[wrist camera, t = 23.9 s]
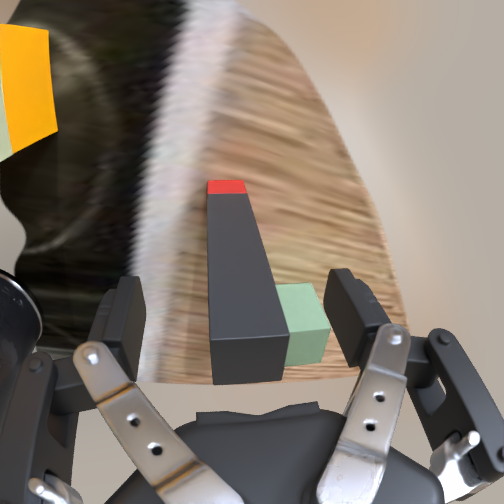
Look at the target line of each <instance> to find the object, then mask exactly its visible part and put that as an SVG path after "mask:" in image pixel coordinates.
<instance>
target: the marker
mask: <svg viewBox="0 0 504 504" xmlns="http://www.w3.org/2000/svg"><path fill="white" fill-rule="evenodd" d="M207 265H208V310H209V339H210V353H211V366H212V378H213V385H229V384H246V383H259V382H271V381H281V380H282V376H283V371H284V366H285V361H286V356H287V351H288V345H289V340H290V332H289V329H288V325H287V322H286V319H285V315H284V312H283V309H282V305H281V302H280V299H279V295H278V292H277V289H276V285H275V282H274V279H273V275H272V272H271V269H270V266H269V262H268V259H267V256H266V252H265V249H264V246H263V243H262V239H261V236H260V233H259V230H258V226H257V223H256V220H255V217H254V214H253V210H252V207H251V204H250V201H249V197H248V194H247V192H246V189H245V185H244V182H243V180H214V181H208V182H207Z"/></svg>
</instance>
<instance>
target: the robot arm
mask: <svg viewBox="0 0 504 504" xmlns="http://www.w3.org/2000/svg"><path fill="white" fill-rule="evenodd" d="M323 304H324V310H325V313H326V315H327V317H328V319H329V322H330V324H331V326H332V328H333V331H334V333H335V335H336V338H337V340H338V342H339V344H340V347H341V349H342V351H343V354H344V356H345V358H346V361H347V363H348V366H349V368H350V367H356V366H359V367H360V369H361V371H360V373H359V375H358V378H357V381H356V383H355V386H354V388H353V391H352V393H351V396H350V398H349V401H348V403H347V406H346V408H345V410H344V412H343V414H342V415H341V414H339V413H336V412H333V411H329V410H323V409H320V408H319V405H318V402H317V401H316V402H310V403H302V404H296V405H288V406H286V407H283V408H280V409H277V410H275V411H272V412H269V413H266V414H263V415H250V414H242V413H236V412H229V411H220V412H196V421H192V422H189V423H187V424H184V425H182V426H180V427H178V428H176V429H175V430H173V429H172V428H171V427H170V426H169V425H168V423H167V422H166V421H165V420H164V419H163V417H162V416H161V415H160V414H159V412H158V411H157V410H156V409H155V407H154V406H153V405H152V404H151V402H150V401H149V400H148V399H147V397H146V396H145V395H144V393H143V392H142V391H141V390H140V388H139V387H138V386H137V384H136V383H135V382H136V380H137V372H138V365H139V359H140V352H141V346H142V340H143V334H144V328H145V322H146V306H145V301H144V296H143V291H142V286H141V281H140V278H139V276H127V277H121V278H120V280H119V283H118V286H117V289H109V290H108V291H107V292H106V293H105V294H104V296H103V297H102V299H101V301H100V304H99V308H98V310H97V313H96V316H95V318H94V321H93V324H92V327H91V330H90V333H89V337H88V340H87V342H85V343H83V344H81V345H80V346H78V347H77V348H76V350H75V351H74V353H73V356H71V357H67V358H62V359H58V360H52V358H51V357H50V355H48V354H47V353H45V352H35V353H32V352H33V350H34V347H35V345H36V343H37V341H38V340H39V338H40V336H41V334H42V332H43V329H44V316H43V312H42V310H41V307H40V305H39V303H38V302H37V300H36V298H35V297H34V296H33V294H32V293H31V292H30V290H29V289H28V288H27V287H26V286H25V285H24V284H23V283H22V282H21V281H19V280H18V279H17V278H16V277H14V276H13V275H11V274H9V273H8V272H6V271H4V270H1V269H0V504H83V500H82V498H81V496H80V494H79V493H78V492H77V491H76V490H75V489H73V488H72V487H71V477H72V465H73V454H74V446H75V438H76V430H77V423H78V416H79V412H81V411H86V410H91V409H95V408H98V410H99V411H100V413H101V415H102V416H103V418H104V420H105V421H106V423H107V424H108V426H109V428H110V429H111V431H112V432H113V434H114V435H115V437H116V438H117V440H118V441H119V443H120V444H121V446H122V447H123V449H124V450H125V452H126V453H127V454H128V456H129V457H130V459H131V460H132V462H133V463H134V464H135V466H136V467H137V469H136V471H135V472H134V473H133V474H132V475H131V476H130V477H129V478H128V479H127V480H126V481H125V482H124V483H123V485H121V487H120V488H119V489H118V490H117V491H116V492H115V493H114V494H113V495H112V496H111V497H110V498H109V499H108V500H107V501H106V502H105V503H104V504H448V503H450V502H452V501H454V500H457V501H463V500H465V499H467V498H469V497H471V496H473V495H474V494H476V493H478V492H479V491H481V490H483V489H484V488H486V487H487V486H489V485H491V484H492V483H494V482H495V481H497V480H498V479H500V478H501V477H503V476H504V419H503V417H502V416H501V414H500V412H499V410H498V408H497V406H496V404H495V402H494V400H493V399H492V397H491V395H490V393H489V392H488V390H487V388H486V386H485V385H484V383H483V381H482V379H481V378H480V376H479V374H478V372H477V371H476V369H475V368H474V366H473V364H472V363H471V361H470V360H469V358H468V356H467V354H466V353H465V351H464V350H463V348H462V347H461V345H460V344H459V342H458V340H457V339H456V337H455V336H454V335H453V334H452V333H450V332H449V331H447V330H445V329H441V328H437V329H433V330H432V331H431V332H430V333H429V335H428V337H427V338H424V337H415V336H410V334H409V332H408V331H407V330H406V329H405V328H404V327H402V326H400V325H398V324H394V323H392V322H391V321H390V319H389V318H388V316H387V314H386V313H385V311H384V310H383V308H382V307H381V305H380V303H379V302H377V299H376V297H375V296H374V295H373V292H372V291H371V289H370V288H369V286H368V285H366V284H365V283H364V282H363V281H361V280H360V279H355V278H354V276H353V275H352V273H351V271H350V270H349V269H348V268H343V269H331V270H330V272H329V275H328V280H327V285H326V289H325V294H324V299H323ZM439 377H440V379H441V381H442V383H443V385H444V387H445V390H446V395H445V393H444V391H443V389H442V388H441V386H440V383H439V381H438V380H437V379H438V378H439ZM132 382H133V383H132ZM405 388H407V391H408V393H409V395H410V398H411V400H412V402H413V404H414V407H415V409H416V411H417V414H418V416H419V419H420V421H421V423H422V425H423V428H424V431H425V433H426V435H427V437H428V440H429V443H430V446H431V448H432V451H433V453H432V455H431V458H430V465H431V466H430V468H429V470H428V469H427V468H425V467H423V466H422V465H420V464H418V463H417V462H415V461H413V460H412V459H410V458H409V457H407V456H405V455H404V454H402V453H401V452H399V451H397V450H396V449H394V448H393V447H391V446H390V444H391V440H392V437H393V434H394V431H395V427H396V423H397V420H398V416H399V412H400V409H401V405H402V401H403V397H404V393H405Z"/></svg>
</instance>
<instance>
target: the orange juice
mask: <svg viewBox="0 0 504 504" xmlns="http://www.w3.org/2000/svg"><path fill="white" fill-rule="evenodd" d="M57 131H58V128H57V122H56V115H55V108H54V101H53V92H52V83H51V72H50V59H49V38H48V30H43V29H37V28H30V27H23V26H16V25H7V24H0V162H1V161H3V160H4V159H6V158H8V157H10V156H11V155H13V154H14V153H15V152H17V151H19V150H21V149H23V148H25V147H26V146H28V145H30V144H32V143H34V142H36V141H38V140H40V139H42V138H44V137H46V136H48V135H50V134H52V133H55V132H57Z"/></svg>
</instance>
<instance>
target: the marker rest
mask: <svg viewBox="0 0 504 504" xmlns="http://www.w3.org/2000/svg"><path fill="white" fill-rule="evenodd" d="M276 289H277V292H278V295H279V299H280V302H281V305H282V309H283V312H284V315H285V319H286V322H287V325H288V329H289V332H290V340H289V345H288V351H287V356H286V361H285V366H284V367H287V366H296V365H304V364H312V363H320V362H321V360H322V357H323V354H324V351H325V347H326V344H327V340H328V337H329V333H330V330H331V327H330V324H329V322H328V320H327V318H326V315H325V313H324V311H323V308H322V306H321V304H320V302H319V299H318V297H317V295H316V293H315V290H314V288H313V286H312V284H311V283H297V284H280V285H276Z"/></svg>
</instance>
